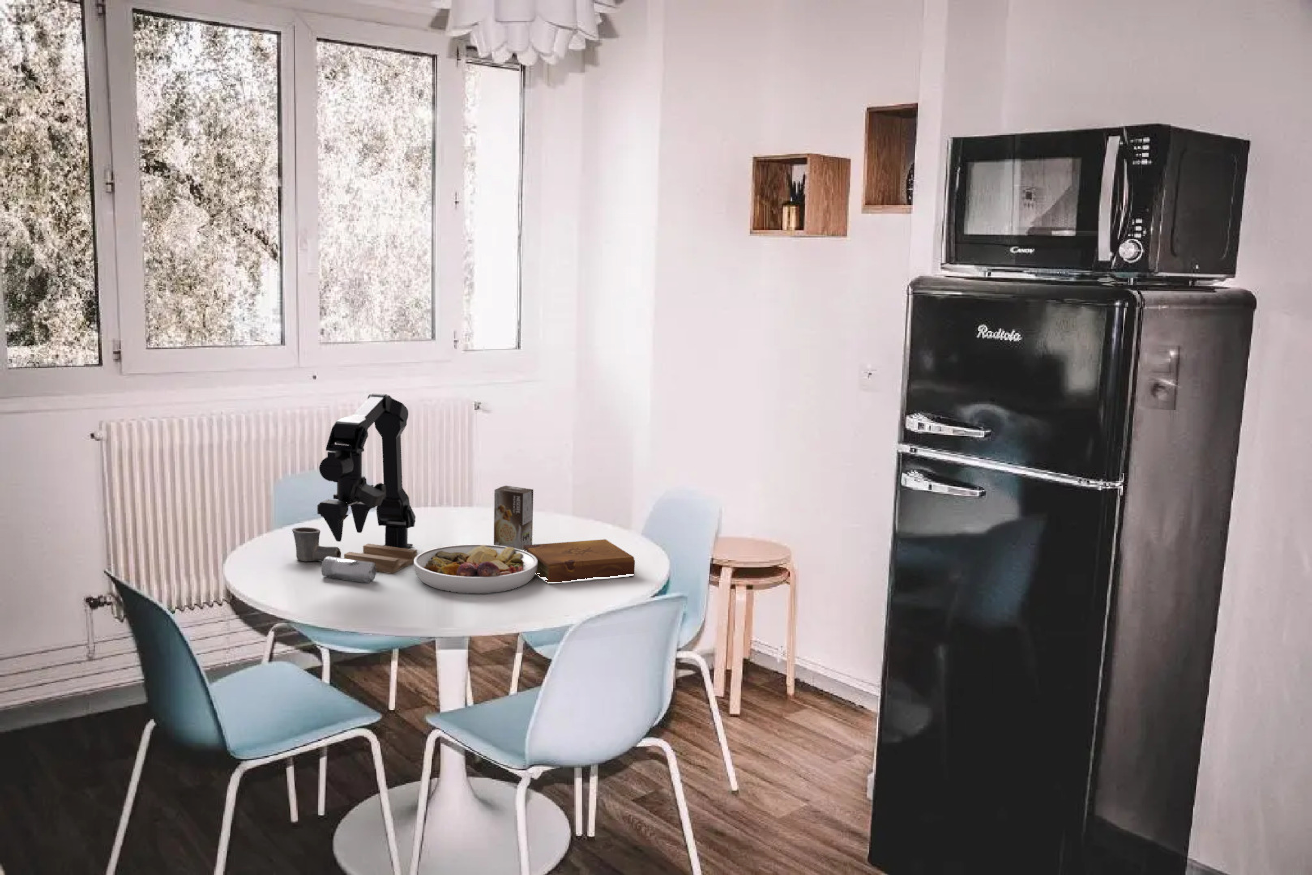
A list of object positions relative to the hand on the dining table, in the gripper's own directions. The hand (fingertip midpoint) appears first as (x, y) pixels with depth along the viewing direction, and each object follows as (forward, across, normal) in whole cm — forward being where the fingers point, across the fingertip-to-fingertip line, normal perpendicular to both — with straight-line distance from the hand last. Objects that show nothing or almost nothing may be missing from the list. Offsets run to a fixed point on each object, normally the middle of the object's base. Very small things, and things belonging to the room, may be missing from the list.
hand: (349, 536), depth 283 cm
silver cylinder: (+8, 0, 0) cm, 8 cm away
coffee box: (+11, +45, -23) cm, 52 cm away
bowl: (+11, +14, -27) cm, 32 cm away
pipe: (+11, +10, +16) cm, 21 cm away
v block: (+10, +15, 0) cm, 18 cm away
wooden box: (+11, +31, -47) cm, 58 cm away
